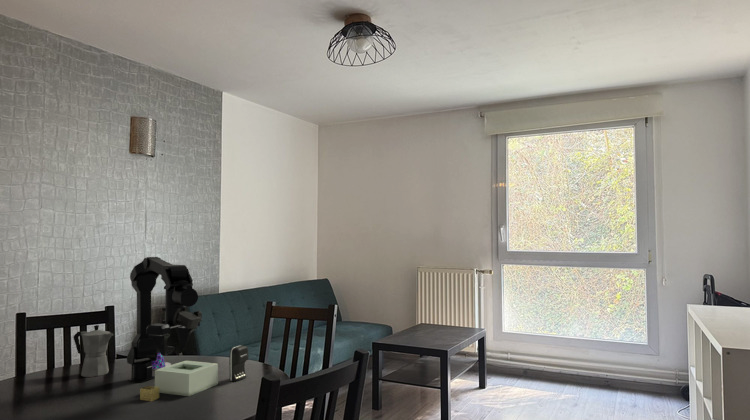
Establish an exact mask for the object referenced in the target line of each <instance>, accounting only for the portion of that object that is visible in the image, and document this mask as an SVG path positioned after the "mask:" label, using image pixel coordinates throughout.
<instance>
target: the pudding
mask: <svg viewBox="0 0 750 420" xmlns="http://www.w3.org/2000/svg"><path fill="white" fill-rule="evenodd" d="M164 357H165V356H162V355H161V353H160V352H158V354H157V359H156V361H152V371H153V370H154V371H155V370H157V369H160V368H164V367H167V366H170V365H172V363H171V362H167V361H165V358H164Z"/></svg>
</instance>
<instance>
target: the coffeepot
mask: <svg viewBox="0 0 750 420" xmlns="http://www.w3.org/2000/svg"><path fill="white" fill-rule="evenodd" d="M99 327H100V325H98V324H96V325H94V326H93V329H94V330H91V331H81V330H80V331H77V332H76V333H75V334H74V335H73V340H74V341H73V342H74V344H75V347H76V351H77V353H78V354H80V355H81V354H82V355H83V354H84V353H85V356H84V360H83V364H82V369H81V373H80V376H81V377H84V378H95V377H94V376H96V377H100V376H104V375H108V374H109V371H110V370H109V369H110V368H109V363H108V356H107V355H106V354H107V351H108V346H109V341H110V339H111V338H112V337H113V336H114V333H113V332H111V331H106V330H103V329H100V330H99ZM79 337H81V338H82V344H83V350H82V349H81V348H82V346H81V343H80V338H79Z"/></svg>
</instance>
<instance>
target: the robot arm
mask: <svg viewBox="0 0 750 420" xmlns="http://www.w3.org/2000/svg"><path fill="white" fill-rule="evenodd" d="M132 268H133V269H132V270H130V271H131V272H130V273H129V278H130V282H131V286H132V287H131V288H133V289H134V291H135V292H136V334H135V336H134V338H133V340H132V341H131V348H130V349H129V352H128V354H127V356H126V362H127V364H128V365H130V366H131V374H130V375H131V376H130V377H131V378H128V379H127V381H128V382H135V383H143V382H146V381H149V380H152V379H155V375H153V370H152V361H156V359H157V354H158V353H161V355H162V356H163V357H165V356H166V353H167V352H166V351H167V345H168V343H167V342H168V338H170V336H171V334H170V332H171V330H174V329H177V332H178V336H179V337H178V338H179V342H180V344H179V345H180V347H181V348H180V349H181V350H184V351H185V350H186V348H187V346H188V343H189V340H190V337H191V334H192V333H193V332H194V331H196V329H198V327H200V326H201V322H202V320H203V317H202V316H203V315H202V311H200V310H195V311H193V312H189V310H188V308H189V307H193V306H194V305H196V303H197V302H198V300H199V294H198V292H197V291H196V289H195V288H193V286H194V283H193V281H194V280H193V278H192V276H191V274H190V271H189V269H188V267H187V266H186V265H185V264H172V263H170V262H167V261H166V260H164V259H162V258H161V257H158V256H147V257H144V258H143V260H142V261H141V262H138V264H136V265H135V266H134V267H132ZM159 276H161V277H160V278H161V280H162V281H163V283H164V286H163V290H165V299H164V300H165V303H164V304H165V305H164V306H165V307H164V306H163V307H162V308H161V311H163V312H164V319H163V320H161V323H153V322H152V291H153V290H154V288H155V287H156V285H157V279H158V278H159Z"/></svg>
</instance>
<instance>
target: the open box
mask: <svg viewBox="0 0 750 420" xmlns="http://www.w3.org/2000/svg"><path fill="white" fill-rule="evenodd" d="M154 376H155V378H154V386H155V387H159V394H166V395H167V394H168V395H175V396H184V397H191V396H193V395H196V394H198V393H201V392H203V391H205V390H207V389H208V390H209V389H210V388H212V387H215V386H217V385H218V384H219V379H218V378H219V364H218V363H214V362H204V361H194V360H184V361H180V362H176V363H173V364H171V365H170V366H167V367H164V368H160V369H159V368H158V369H155V370H154Z"/></svg>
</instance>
